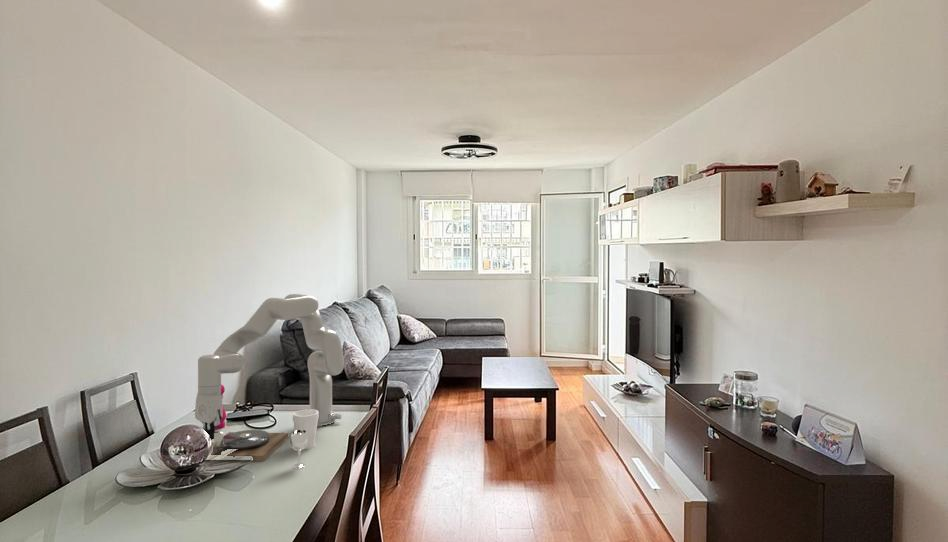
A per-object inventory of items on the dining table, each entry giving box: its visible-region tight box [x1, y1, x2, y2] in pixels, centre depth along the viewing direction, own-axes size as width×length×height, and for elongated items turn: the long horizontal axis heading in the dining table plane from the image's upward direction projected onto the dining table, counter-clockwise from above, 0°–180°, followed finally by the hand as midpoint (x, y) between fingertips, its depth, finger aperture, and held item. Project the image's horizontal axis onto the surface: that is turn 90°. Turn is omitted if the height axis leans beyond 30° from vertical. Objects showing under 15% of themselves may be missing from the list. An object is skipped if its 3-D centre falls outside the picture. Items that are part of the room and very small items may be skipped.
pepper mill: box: [215, 384, 227, 430], centre depth 218 cm, size 7×7×20 cm
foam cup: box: [292, 408, 319, 450], centre depth 197 cm, size 10×9×13 cm
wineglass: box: [289, 430, 308, 470], centre depth 178 cm, size 6×6×12 cm
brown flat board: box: [211, 431, 289, 462], centre depth 194 cm, size 26×24×2 cm
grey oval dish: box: [213, 429, 270, 453], centre depth 192 cm, size 22×17×7 cm
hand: (209, 439), depth 186 cm, fingers closed
